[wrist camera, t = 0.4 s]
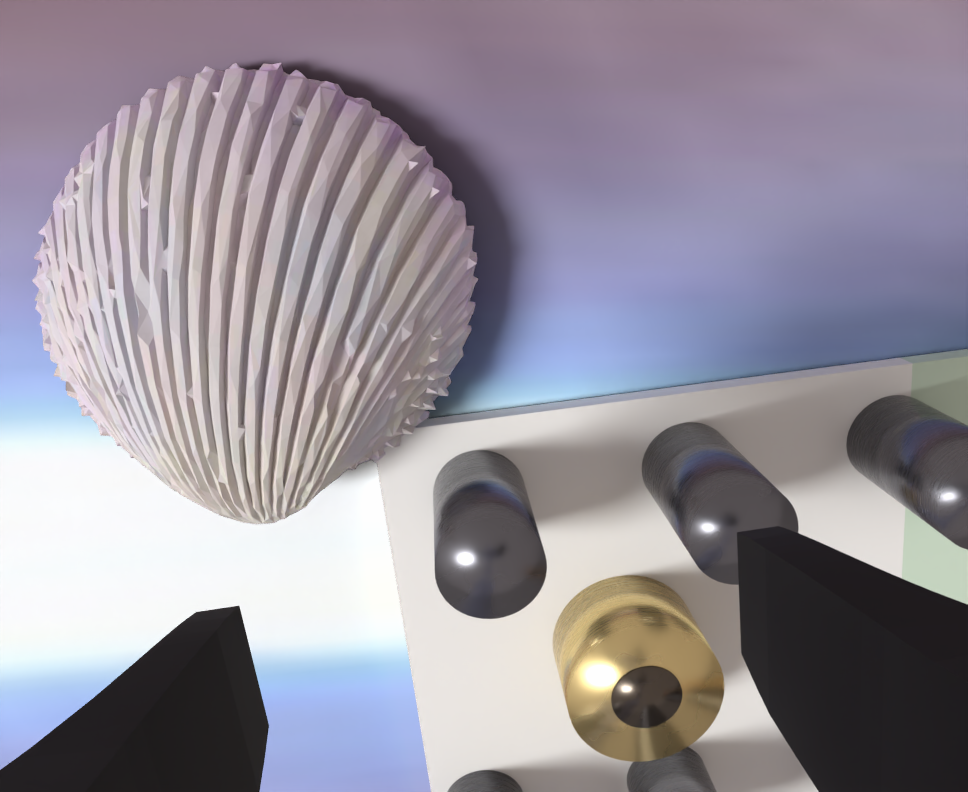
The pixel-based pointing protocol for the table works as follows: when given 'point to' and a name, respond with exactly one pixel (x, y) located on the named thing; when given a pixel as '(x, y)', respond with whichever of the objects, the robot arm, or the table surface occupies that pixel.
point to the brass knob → (636, 669)
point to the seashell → (255, 286)
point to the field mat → (642, 557)
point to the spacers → (681, 525)
